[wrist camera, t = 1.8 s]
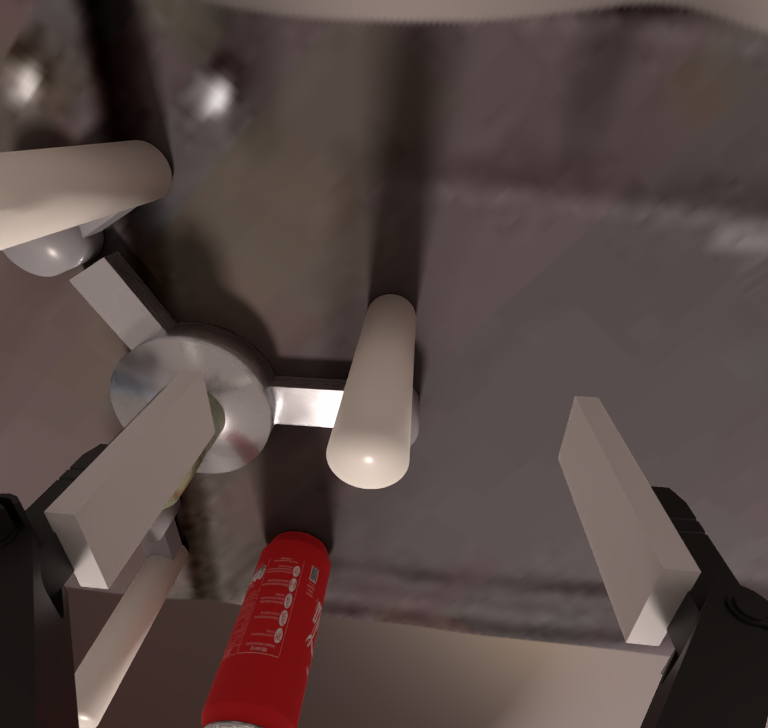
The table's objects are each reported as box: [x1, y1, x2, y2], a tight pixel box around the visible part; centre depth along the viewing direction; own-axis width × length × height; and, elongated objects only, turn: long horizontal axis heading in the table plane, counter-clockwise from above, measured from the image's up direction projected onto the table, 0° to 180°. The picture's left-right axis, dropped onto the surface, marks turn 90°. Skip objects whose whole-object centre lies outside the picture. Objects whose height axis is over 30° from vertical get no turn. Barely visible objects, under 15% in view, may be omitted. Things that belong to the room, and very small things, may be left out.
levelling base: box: [69, 251, 347, 509], centre depth 24 cm, size 17×14×8 cm
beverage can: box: [201, 531, 331, 728], centre depth 29 cm, size 5×5×12 cm
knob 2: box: [326, 294, 419, 489], centre depth 20 cm, size 9×4×11 cm, turn 179°
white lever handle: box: [75, 498, 188, 728], centre depth 28 cm, size 9×4×11 cm, turn 179°
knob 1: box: [0, 140, 172, 277], centre depth 17 cm, size 9×4×11 cm, turn 119°
